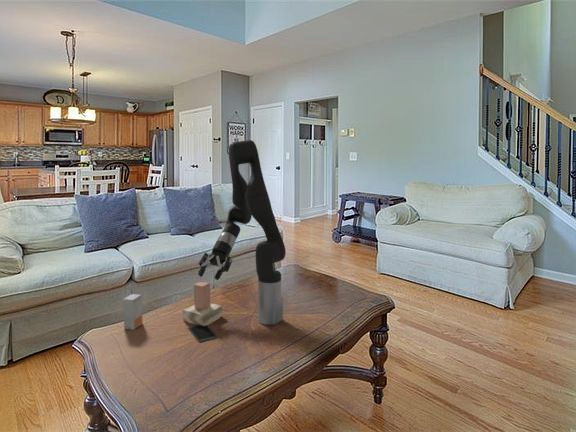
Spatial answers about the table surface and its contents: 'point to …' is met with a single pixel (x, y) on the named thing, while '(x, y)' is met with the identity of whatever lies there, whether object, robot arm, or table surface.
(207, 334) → the cell phone
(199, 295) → the terracotta block
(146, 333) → the table surface
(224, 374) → the table surface
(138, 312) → the skincare box
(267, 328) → the table surface
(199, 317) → the birch riser
